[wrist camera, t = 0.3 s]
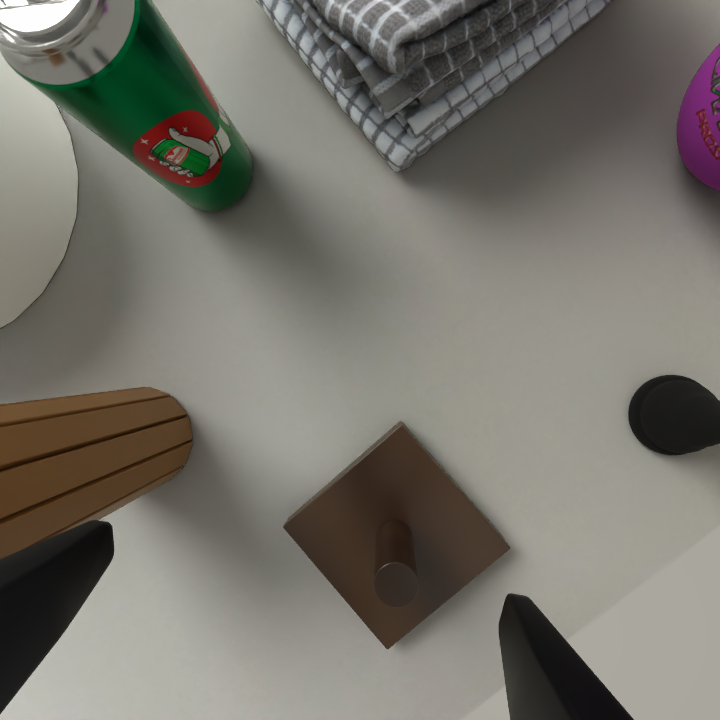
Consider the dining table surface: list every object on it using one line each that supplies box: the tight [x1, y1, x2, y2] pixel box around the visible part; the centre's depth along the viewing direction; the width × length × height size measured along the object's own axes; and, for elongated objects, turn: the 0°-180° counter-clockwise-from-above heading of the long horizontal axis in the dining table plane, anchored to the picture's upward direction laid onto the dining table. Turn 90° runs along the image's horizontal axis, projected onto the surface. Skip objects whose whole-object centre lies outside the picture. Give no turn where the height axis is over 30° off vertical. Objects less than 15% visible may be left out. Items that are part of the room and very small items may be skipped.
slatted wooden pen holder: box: [0, 387, 193, 559], centre depth 18 cm, size 6×6×12 cm
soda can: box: [0, 0, 253, 211], centre depth 17 cm, size 5×5×12 cm
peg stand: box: [283, 421, 510, 649], centre depth 20 cm, size 9×9×6 cm
